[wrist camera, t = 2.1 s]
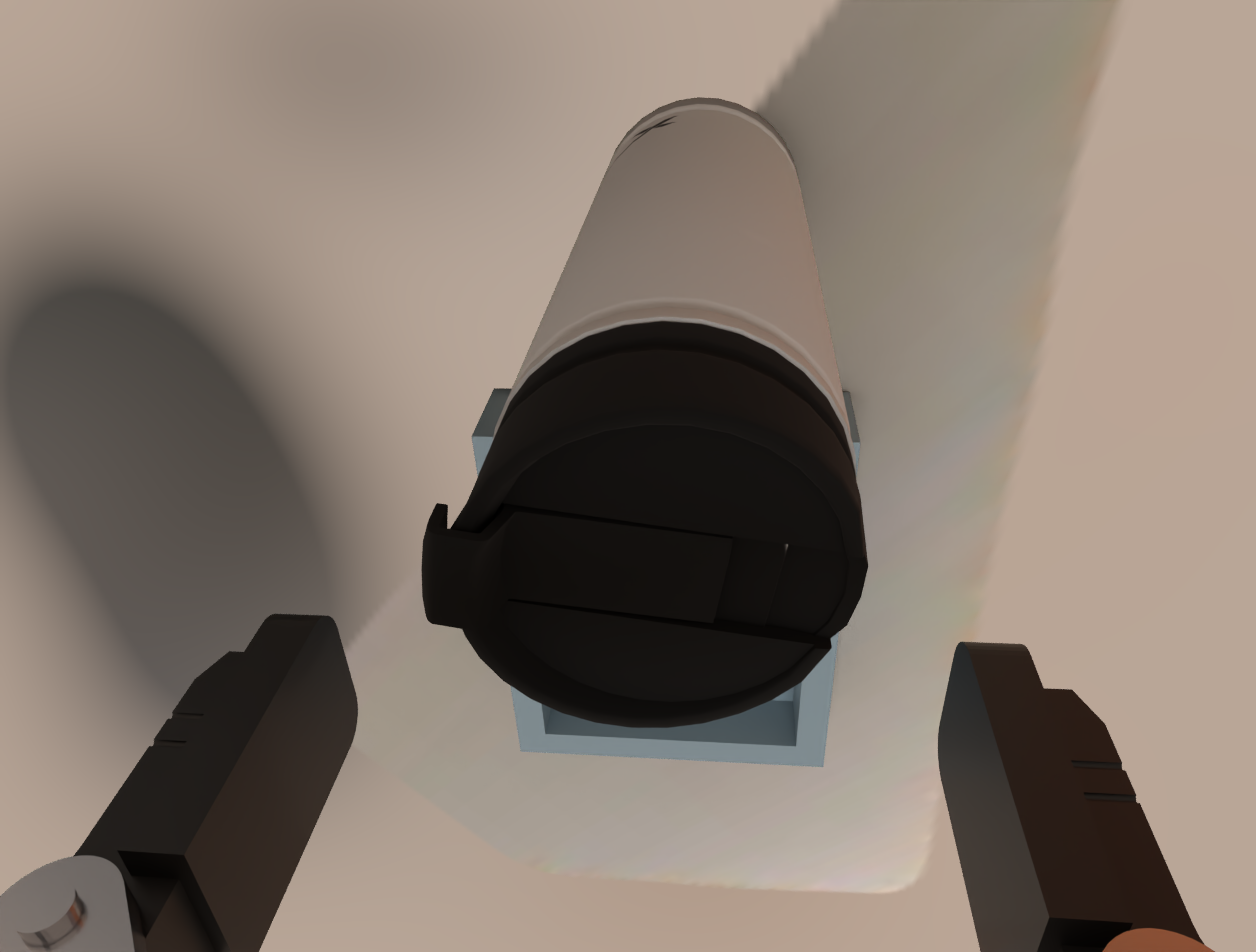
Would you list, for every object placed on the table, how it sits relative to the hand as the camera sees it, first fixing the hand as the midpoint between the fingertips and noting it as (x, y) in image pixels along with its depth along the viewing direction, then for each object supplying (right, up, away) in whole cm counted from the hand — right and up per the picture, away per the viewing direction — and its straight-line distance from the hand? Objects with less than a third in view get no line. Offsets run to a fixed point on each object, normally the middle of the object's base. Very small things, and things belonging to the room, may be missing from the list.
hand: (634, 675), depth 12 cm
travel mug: (+2, +12, +18) cm, 21 cm away
